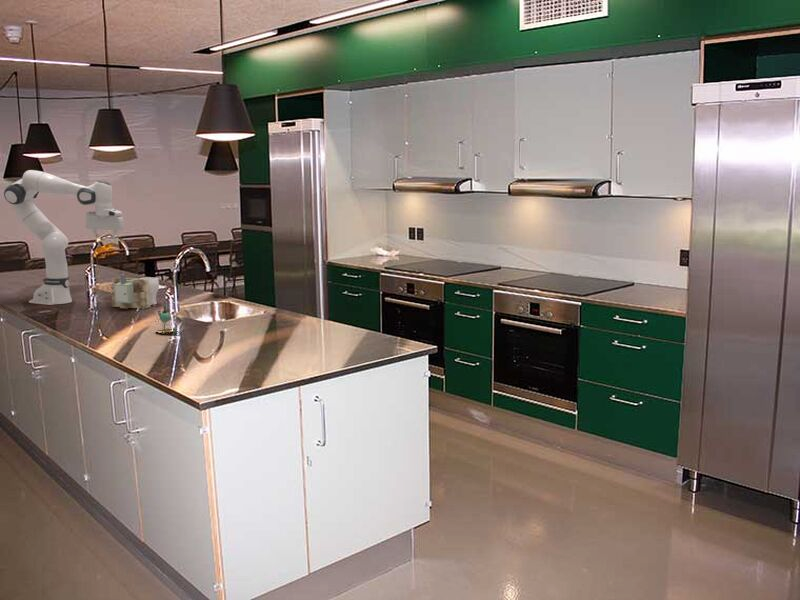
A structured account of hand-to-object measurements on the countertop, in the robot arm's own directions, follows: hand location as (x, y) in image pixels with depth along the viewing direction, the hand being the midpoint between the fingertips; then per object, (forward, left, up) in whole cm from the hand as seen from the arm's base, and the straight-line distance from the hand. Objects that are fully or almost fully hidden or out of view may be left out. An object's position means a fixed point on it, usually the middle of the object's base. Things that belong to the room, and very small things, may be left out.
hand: (105, 238), depth 404 cm
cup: (+15, +19, -39) cm, 46 cm away
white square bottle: (+9, +2, -35) cm, 36 cm away
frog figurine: (+55, -47, -39) cm, 82 cm away
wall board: (+9, +9, -39) cm, 41 cm away
